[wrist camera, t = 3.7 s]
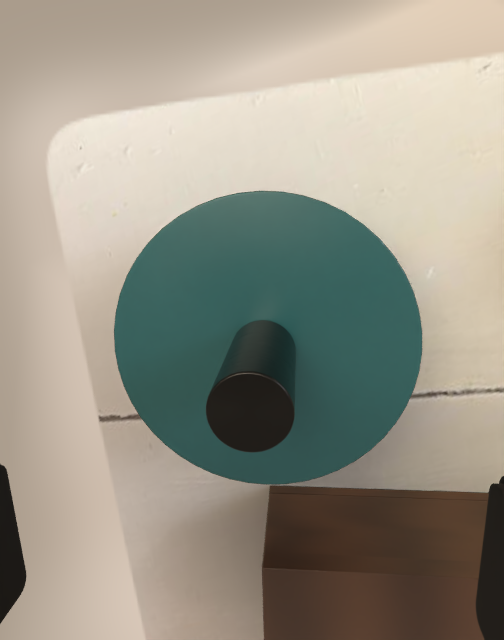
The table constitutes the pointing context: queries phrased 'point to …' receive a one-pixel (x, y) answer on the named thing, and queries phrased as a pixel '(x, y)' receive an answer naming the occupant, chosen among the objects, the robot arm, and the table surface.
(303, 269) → the lid
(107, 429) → the table surface
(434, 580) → the wooden box
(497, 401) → the table surface
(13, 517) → the robot arm
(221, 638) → the table surface
